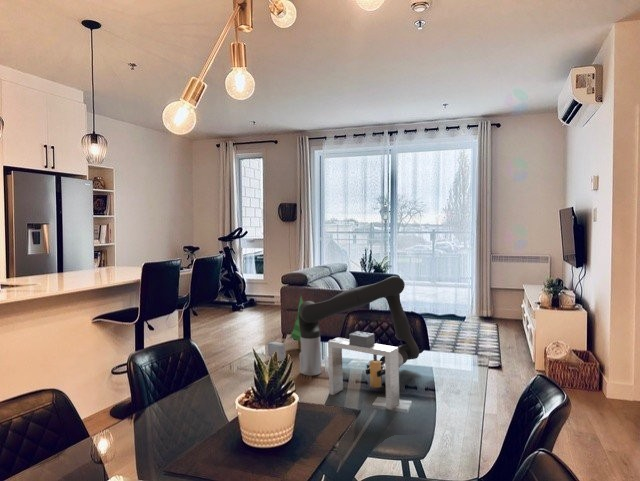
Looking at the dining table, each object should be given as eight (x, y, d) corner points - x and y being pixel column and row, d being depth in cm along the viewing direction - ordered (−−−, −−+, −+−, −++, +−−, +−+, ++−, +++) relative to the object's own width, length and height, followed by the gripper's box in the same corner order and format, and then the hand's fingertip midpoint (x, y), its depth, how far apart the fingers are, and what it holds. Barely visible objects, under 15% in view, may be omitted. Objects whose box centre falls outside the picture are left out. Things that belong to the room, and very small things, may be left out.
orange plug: (368, 386, 187) (367, 354, 186) (372, 383, 191) (371, 350, 190) (379, 388, 185) (378, 355, 184) (382, 384, 189) (382, 352, 188)
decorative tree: (311, 353, 241) (309, 297, 239) (284, 351, 246) (282, 296, 244) (320, 346, 253) (318, 293, 252) (294, 344, 259) (293, 292, 257)
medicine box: (285, 359, 231) (285, 343, 231) (280, 362, 227) (279, 345, 227) (273, 357, 235) (273, 341, 235) (268, 360, 232) (267, 343, 231)
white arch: (329, 394, 185) (327, 331, 184) (338, 388, 191) (337, 327, 189) (390, 409, 169) (389, 341, 167) (399, 403, 174) (398, 336, 173)
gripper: (376, 350, 203) (357, 361, 189) (406, 356, 195) (387, 367, 181) (377, 367, 203) (357, 379, 190) (406, 373, 195) (388, 385, 181)
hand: (372, 373), depth 185 cm, fingers closed on orange plug, 4 cm apart
